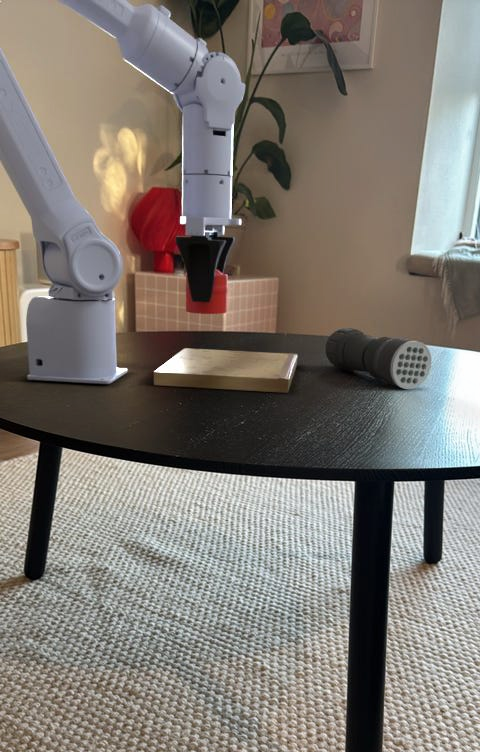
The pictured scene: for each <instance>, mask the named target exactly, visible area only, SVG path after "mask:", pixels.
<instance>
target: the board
mask: <svg viewBox="0 0 480 752" xmlns="http://www.w3.org/2000/svg"><path fill="white" fill-rule="evenodd" d="M297 366H298V353H292V352H289V353H284V352H283V353H282V352H266V351H265V352H262V351H246V350H245V351H243V350H224V349H209V348H208V349H207V348H205V349H204V348H188V347H184V348H183V349H182V350H180V351H179V352H177V353H176V354H174V356H172V358H170V359H169V360H167V361H166V362H165V363H164V364H162V365H161V366H159V367H158V368H157V369H156V370H153V385H154V386H164V387H179V388H180V387H181V388H197V389H212V390H213V389H215V390H230V391H231V390H232V391H247V392H248V391H249V392H263V393H265V392H266V393H281V394H282V393H283V394H288V393H289V390H290V387H291V385H292V382H293V381H292V380H293V379H294V376H295V372H296V369H297Z"/></svg>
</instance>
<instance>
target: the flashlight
mask: <svg viewBox="0 0 480 752" xmlns="http://www.w3.org/2000/svg"><path fill="white" fill-rule="evenodd" d="M430 351H431V350H430V349H429V347H428V346H427V345H426V344H425V343H424V342H421V341H417V340H412V339H409V338H402V337H397V338H393V337H389V336H381V337H378V338H377V337H373V336H371V335H369V334H365V333H364V332H363V331H361V330H359V329H356V328H351V327H343V328H340V329H337V330H335V331H333V333H331V334H330V335H329V337H328V339H327V341H326V343H325V355H326V359H327V360H328V361H329V363H330V364H332V366H334V367H335V368H337V369H340V370H343V371H346V372H348V371H349V372H350V371H357V372H364V373H368V374H369V375H370V376H371V377H372V378H374V379H377V380H381V381H383V382H384V383H386V384H387V385H391V386H393V387H397V388H401V389H404V390H413V389H416V388H418V387H420V386H421V385H422V384H424V382H425V381H426V380H427V378H428V376H429V374H430V372H431V368H432V354H431V352H430Z"/></svg>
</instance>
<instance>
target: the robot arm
mask: <svg viewBox="0 0 480 752" xmlns="http://www.w3.org/2000/svg"><path fill="white" fill-rule="evenodd" d="M1 2H2V0H0V4H1ZM57 2H59V3H61V4H62V5H64V6H65V7H67V8H68V9H70V10H71V11H73V12H75V13H76V14H77V15H79V16H81V17H82V18H84V19H85V20H87V21H89V22H90V23H91V24H93V25H94V26H96V27H98V28H99V29H100V30H102V31H104V32H105V33H107V34H108V35H110V36H111V37H112V38H114V39H115V40H116V42H117V45H118V48H119V52H120V55H121V57H122V59H123V61H125V62H126V63H128V64H129V65H131V66H132V67H134V69H136V70H137V71H139V72H141V74H143V75H145V76H146V77H148V78H149V79H150V80H152V81H153V82H155V83H156V84H157V85H158V86H160V87H162V88H163V89H165V90H166V91H167V92H168V93H170V94H172V96H173V99H174V102H175V104H176V106H177V107H178V109H179V110H180V111H181V113H182V131H181V133H182V135H181V136H182V137H181V138H182V140H181V142H182V143H181V146H182V147H181V148H182V149H181V150H182V152H181V153H182V154H181V157H182V158H181V162H182V163H181V165H182V167H181V174H182V175H181V179H182V180H181V188H182V189H181V216H180V217H179V218H180V219H179V224H180V225H185V235H184V236H183V235H181V236H180V235H177V236H175V238H174V241H175V244H176V247H177V249H178V251H179V253H180V255H181V256H180V257H181V258H182V262H183V264H184V268H185V272H186V273H187V278H188V283H189V289H190V294H191V298H192V301H193V302H210V301H211V297H212V293H213V288H214V281H215V274H216V269H217V270H219V271H220V272H221V273H223V274H225V273H224V272H225V269H226V264H227V261H228V258H229V256H230V253H231V251H232V249H233V246H235V245H234V244H235V242H236V237H234V236H225V227H233V226H241V225H242V219H241V218H232V201H233V200H232V199H233V195H232V194H233V163H234V162H233V160H234V125H235V120H236V119H235V117H236V116H235V115H236V111H237V110H238V109H237V108H238V107H239V105H240V104H241V103H242V101H243V98H244V95H245V92H246V83H244V82H242V78H241V77H242V76H241V74H240V70H239V68H238V67H237V64H236V62H235V61H234V60H233V58H231V57H230V56H229V55H227V54H225V53H224V52H222V51H218V52H216V51H212V52H209V49H208V48H207V42H206V41H205V40H204V39H202V38H201V37H198V38H195V37H194V36H192V35H191V34H190V33H189V32H187V31H186V30H185V29H183V27H181V26H180V25H178V24H177V23H175V22H174V21H173V19H170V17H171V14H172V13H171V11H170V10H169V9H168V8H166V7H165V6H164V5H162V4H161V5H159V6H157V7H155V6H154V5H153V4H151V3H145V4H141V5H139V6H133V5H132V4H131V3H130V2H128V1H127V0H57ZM57 160H58V159H57V158H56V156H55V154H54V152H53V150H52V148H51V146H50V144H49V142H48V140H47V138H46V136H45V134H44V132H43V130H42V128H41V126H40V124H39V122H38V120H37V118H36V116H35V114H34V112H33V110H32V108H31V106H30V104H29V101H28V100H27V97H26V96H25V94H24V92H23V90H22V88H21V86H20V84H19V82H18V80H17V77H16V76H15V74H14V72H13V70H12V68H11V66H10V64H9V62H8V60H7V58H6V56H5V54H4V51H3V50H2V48H1V47H0V163H1V165H2V166H3V169H4V171H5V172H6V174H7V176H8V179H10V182H11V183H12V185H13V187H14V189H15V192H16V193H17V194H18V196H19V198H20V201H21V202H22V204H23V206H24V208H25V209H26V211H27V213H28V215H29V217H30V220H31V229H32V235H33V237H34V239H35V241H36V243H37V246H38V248H39V251H40V263H41V269H42V271H43V273H44V275H45V277H46V278H47V279H48V281H49V282H50V283H51V285H50V287H49V289H48V290H47V291H48V296H44V295H43V296H42V295H40V296H34V297H32V298H31V299H30V300H29V303H28V305H27V309H26V317H25V318H26V319H25V323H26V325H25V327H26V343H27V355H28V356H27V357H28V369H29V374H27V375H26V378H27V380H28V381H29V380H30V381H43V382H44V381H46V382H60V383H61V382H62V383H63V382H64V383H78V384H79V383H80V384H96V385H97V384H98V385H110V384H112V383H113V382H115V381H116V380H118V379H119V378H121V377H122V376H124V375H126V374H127V373H128V368H127V367H118V366H117V363H118V362H117V359H118V357H117V327H116V326H117V324H116V323H117V322H116V320H117V319H116V299H115V298H116V292H114V289H116V287H117V285H118V284H119V282H120V281H121V278H122V275H123V269H124V267H123V265H124V264H123V257H122V255H121V252H120V250H119V248H118V247H117V245H116V244H115V243H114V242H113V241H112V240H111V239H110V238H108V237H107V236H106V235H104V233H103V232H102V231H101V230H100V228H99V227H98V225H97V223H96V221H95V219H94V217H93V216H92V214H90V212H88V211H87V209H86V208H85V206H83V205H82V203H80V201H79V200H78V199H77V198H76V196H75V194H74V192H73V190H72V188H71V186H70V184H69V182H68V181H67V178H66V176H65V174H64V173H63V170H62V168H61V167H60V164H59V162H58V161H57ZM186 273H185V274H186Z"/></svg>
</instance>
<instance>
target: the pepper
mask: <svg viewBox="0 0 480 752" xmlns="http://www.w3.org/2000/svg"><path fill="white" fill-rule="evenodd" d="M228 277H229V276H228V274H227V273H221V272H220V271H219V270H217V269H216V274H215V281H214V288H213V293H212V297H211V301H210V302H193V301H192V298H191V294H190V289H189V283H188V278H187V273H185V312H187V313H191V314H199V315H219V314H226V313H227V312H228V291H229V288H228V285H229V283H228V279H229V278H228Z"/></svg>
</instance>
